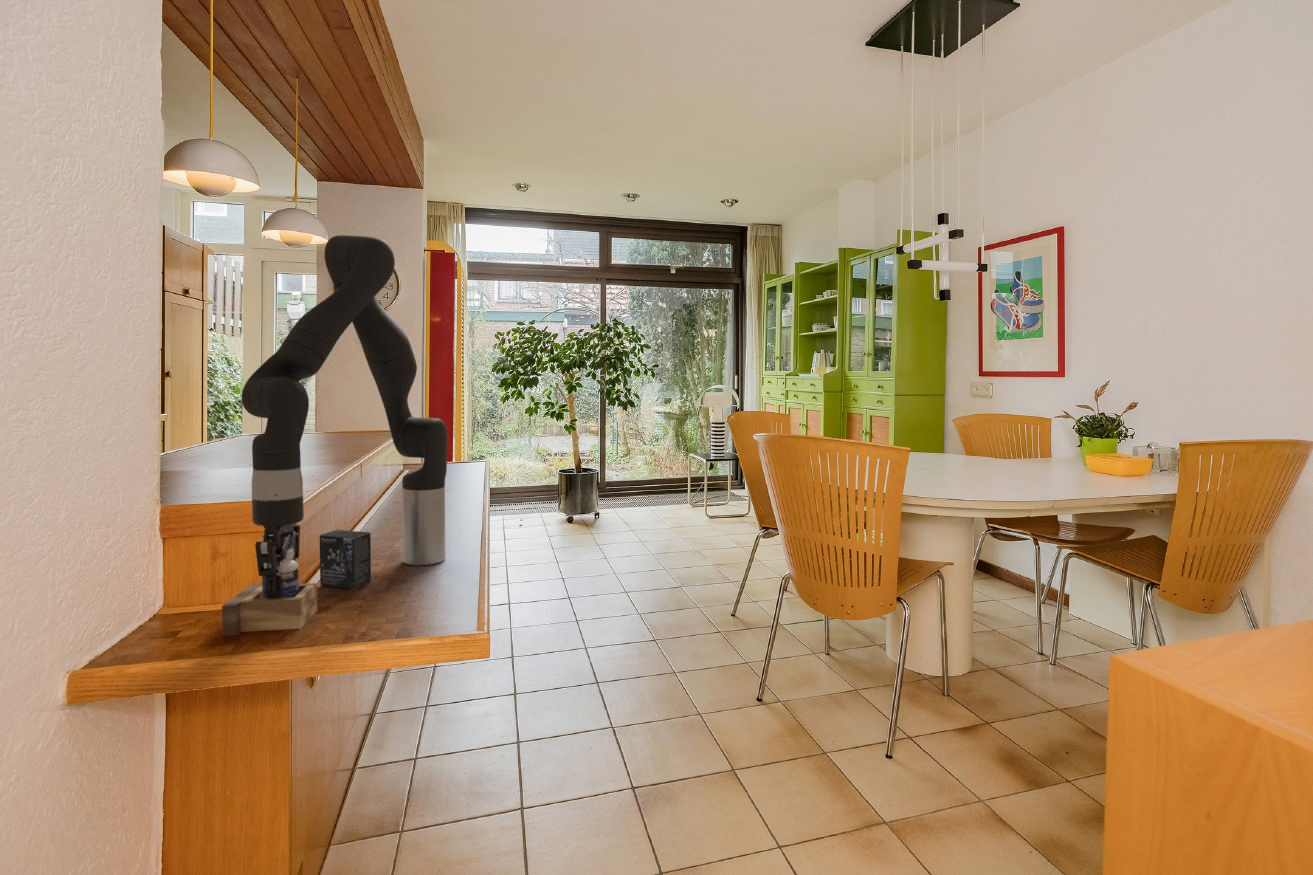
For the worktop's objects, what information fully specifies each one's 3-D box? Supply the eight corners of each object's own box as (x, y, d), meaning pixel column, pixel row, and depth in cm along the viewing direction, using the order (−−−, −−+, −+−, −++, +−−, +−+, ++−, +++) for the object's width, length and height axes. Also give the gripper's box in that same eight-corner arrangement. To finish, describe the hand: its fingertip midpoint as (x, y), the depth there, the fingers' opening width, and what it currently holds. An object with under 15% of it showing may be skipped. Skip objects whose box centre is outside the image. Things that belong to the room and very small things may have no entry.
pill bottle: (282, 612, 108) (281, 555, 107) (255, 609, 109) (253, 553, 108) (306, 602, 113) (305, 547, 112) (280, 599, 114) (278, 545, 113)
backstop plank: (253, 610, 116) (252, 583, 115) (265, 609, 116) (264, 582, 116) (223, 635, 104) (222, 605, 103) (236, 635, 104) (235, 605, 104)
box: (319, 586, 130) (318, 534, 129) (339, 578, 135) (338, 528, 134) (353, 590, 128) (352, 537, 127) (372, 581, 134) (371, 531, 133)
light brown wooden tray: (262, 612, 114) (261, 585, 114) (317, 610, 116) (316, 583, 116) (240, 631, 106) (239, 602, 105) (300, 628, 108) (300, 599, 107)
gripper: (287, 501, 103) (290, 604, 104) (315, 487, 117) (317, 578, 118) (234, 502, 102) (238, 607, 103) (269, 488, 116) (272, 580, 117)
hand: (280, 591), depth 111 cm, fingers closed on pill bottle, 5 cm apart
